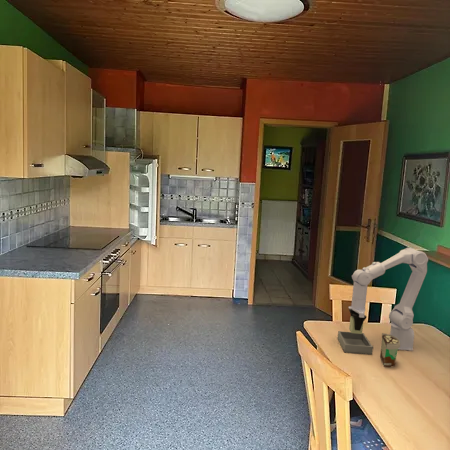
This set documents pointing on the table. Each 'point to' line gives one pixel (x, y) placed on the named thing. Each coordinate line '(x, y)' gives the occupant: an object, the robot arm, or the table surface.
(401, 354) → the table surface
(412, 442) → the table surface
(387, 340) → the food container
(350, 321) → the block
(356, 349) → the bin
